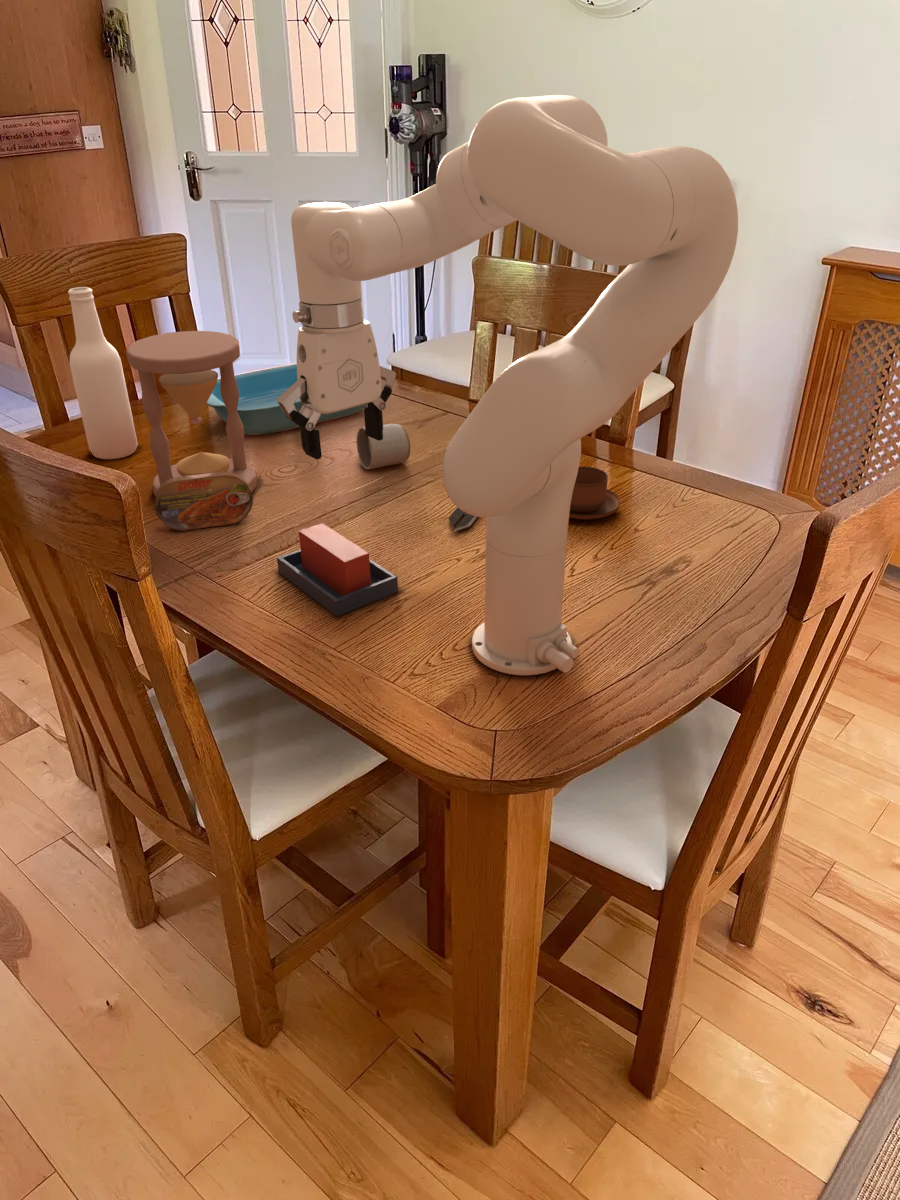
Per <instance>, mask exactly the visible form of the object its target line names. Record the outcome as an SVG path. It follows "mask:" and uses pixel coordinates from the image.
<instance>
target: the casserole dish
mask: <svg viewBox="0 0 900 1200" xmlns="http://www.w3.org/2000/svg"><path fill="white" fill-rule="evenodd" d="M234 376H235V379H236V382H237V386H238V391H239V400H238V407H237V412H238V415H239V417H240V419H241V422H242V424H243V428H244V435H246V436H263V435H270V434H276V433H280V432H286V431H289V430H294V429H298V428H299V429H300V426H298V425H296V424H295V423H294V422H293V421H292V420H290V419H289V418H288V417H286V414H285V412H284V411H283V410H282V408H281V407H280V405H279V404H278V402H277V400H278V398H279V397H280V396H281V395H282V394H283V393H284V392H285V391H286V390H288V389H289V388H290V387H291V386H292V385H293V384H294V383H295V382H296V381H298V380H297V364H293V365H287V366H286V365H285V366H281V367H276V368H271V369H266V370H259V371H254V372H248V373H243V374H238V375H234ZM220 380H221V378H219V379H217V384H216V386H215V388H214V390H213V392H212V394H211V396H210V398H209V399H208V401H207V403H206V405H207V406H209V407H211V408H213V409H214V411H215V412H216V414H217V416H218V417H219V418H220V419H221V420H223V422H225V424H227V416H228V411H227V409H226V406H225V404H224V402H223V399H222V397H221V390H220ZM294 405H295V407H296V410H297V411H298V412H299V411H300V409H301V407H302V404H301V401H300V397H299V398H298V399H297V400H296V401H295V403H294ZM365 406H367V404H363V405H360V406H356V407H352V408H349V409H345V410H341V411H338V412H334V413H329V414H323V413H322V414H321V415H320V417H319V419H318V421H317V423H316V424H320V423H324V422H328V421H333V420H337V419H341V418H342V419H343V418H346V417H349V416H353V415H355V414H358V413H360V412H361V411H363V410H364V407H365Z"/></svg>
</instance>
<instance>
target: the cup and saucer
mask: <svg viewBox="0 0 900 1200" xmlns="http://www.w3.org/2000/svg"><path fill="white" fill-rule="evenodd" d="M608 480H609V476H608V474H607V472H606V471H604V470H602V469H600V468H597V467H593V466H579V469H578V473H577V477H576V481H575V485H574V489H573V494H572V499H571V505H570V512H569V519H572V520H573V519H574V520H581V521H582V520H583V521H589V520H590V521H591V520H599V519H602V518H603V519H604V518H606V517H608V516H610V515H612V514H613V513H615V512H617V510H618V509H619V507H620V505H621V499H620V497H619V496H618V494H616V493H615V492H613V491H611V489H608Z"/></svg>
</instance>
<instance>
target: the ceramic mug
mask: <svg viewBox="0 0 900 1200" xmlns="http://www.w3.org/2000/svg"><path fill="white" fill-rule="evenodd" d="M355 442H356V450H357V455H358V459H359V462H360V464H361V465H362V467H363V468H364V469H365V470H373V469H379V468H383V467H388V466H395V465H399V464H401V463H404V462H406V461H407V460H408V459H409V457H410V455H411V439H410V435H409V433H408V431H407V429H406V428H405V427H404V426H403V425H402V424H398V423H396V424H395V423H387V424H383V440H380V441H378V440H376V439H373V438H371V437H369V436H367V435H366V433H365V425H364V426H361V427H359V429H358V430H357V433H356V440H355Z"/></svg>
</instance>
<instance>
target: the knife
mask: <svg viewBox="0 0 900 1200" xmlns="http://www.w3.org/2000/svg"><path fill="white" fill-rule="evenodd" d="M477 518H478V517H477V516H473V515H470V514H468V513H466V512H464V511H462V510H461V509H459V508H458V507H457V506H456V508H455V509H454V511H453V512H452V513H451V514H450V516H448V520H449V522H450V524H451V525H452V527H454V529H453V533H454V532H458V531H460V530H463V529H467V528H469V527H471V526H472V524H473V523H474V522H475V520H476V519H477Z"/></svg>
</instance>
